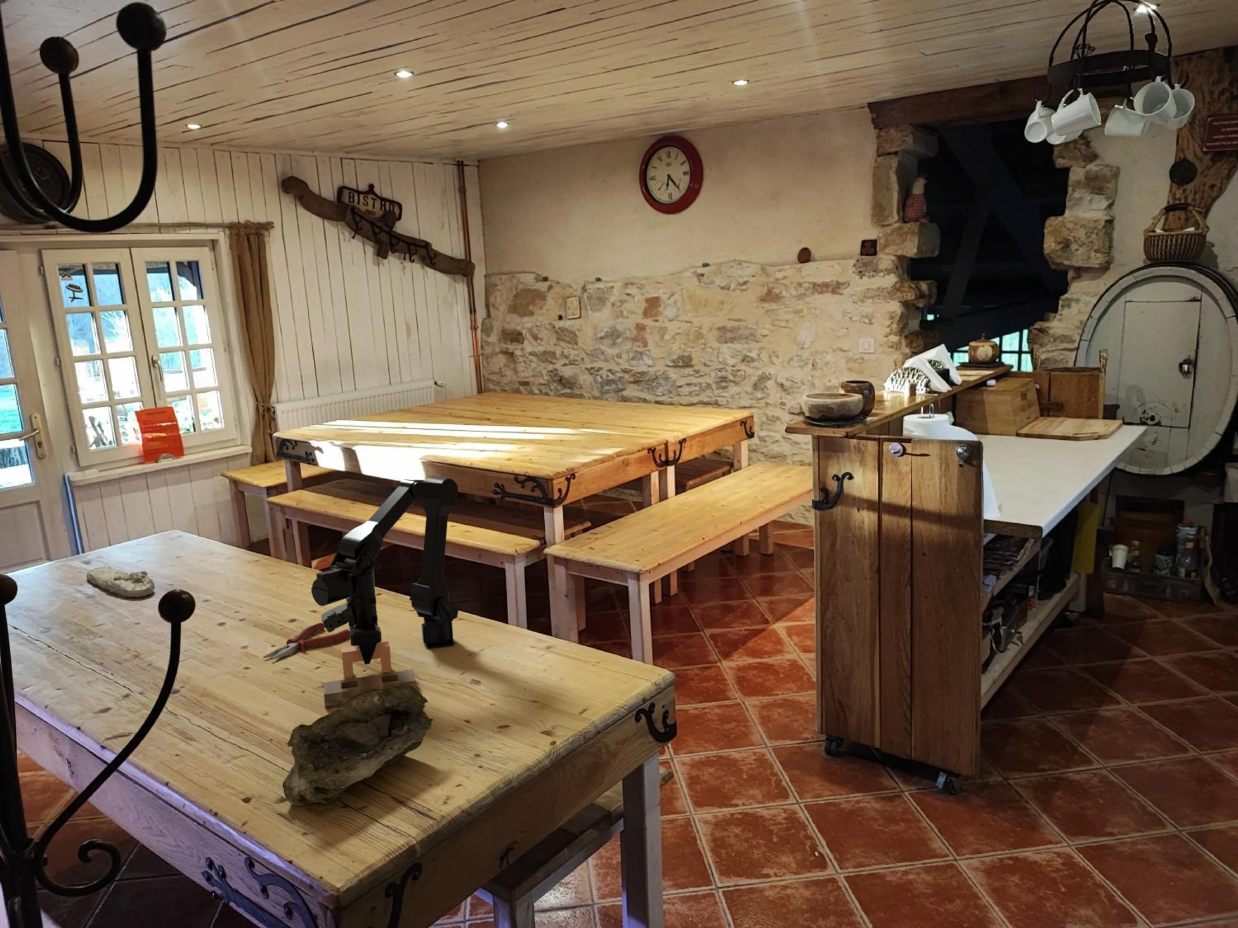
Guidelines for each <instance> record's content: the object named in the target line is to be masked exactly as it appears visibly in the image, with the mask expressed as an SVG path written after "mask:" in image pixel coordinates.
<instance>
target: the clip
mask: <svg viewBox="0 0 1238 928" xmlns="http://www.w3.org/2000/svg"><path fill="white" fill-rule="evenodd" d="M391 657H392V656H391V646H390V641H389V640H388V641H382V642H380V643H377V645H376V648H375V651H374V653H373V656H372V659H371V661H372V660H378V659H379V660H380V665H381V667H380V668H381V672H382V673H381V674H384V673H391V672H392V662H391V661H392V659H391ZM341 660H342V661H341V662H342V670H343V671H342V672H343V678H344V679H350V678H355V677H354V665H353V663H358V662H364V661H363V657H362V654H361V651H360V648H359V646H351V645H350V646H344V647H341Z"/></svg>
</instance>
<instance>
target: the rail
mask: <svg viewBox="0 0 1238 928" xmlns="http://www.w3.org/2000/svg"><path fill="white" fill-rule="evenodd" d="M399 685H405V686H408V685H409V686H412V687H413V688H415V689H416V690H417V691H418V689H417V678H416V676H415V671H414V669H407V670H401V671H393V672H392V671H391V672H385V673H380V674H373V675H366V676H360V677H351V678H344V679H338V680H331V681H324V682H323V698H324V699H323V700H324V709H326V710H327V709H331V708H337V707H341V706H342V705H343V704H344V703H346V702H347V701H348V700H350V699H351V698H353V697H354V696H355V695H357V694H360V693H363V692H365V691H367V690H370V689H388V688H390V687H393V686H399Z"/></svg>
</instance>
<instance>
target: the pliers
mask: <svg viewBox="0 0 1238 928" xmlns="http://www.w3.org/2000/svg"><path fill="white" fill-rule="evenodd" d="M324 630H325V627H324V624H323V622H318V623H314V624H313V625H310V626H307V627H306V628H304V629H303V630H302V631H301V632H300V633H299V634H298V635H297V636H296V637H295V638H288V639H287V640H286V644H284V645H282V646H280V647H278V648H276V649H275V650H273V651H270V652H269V653H267V654H265V655H264V656H262V658H263V659H266V658H271V661H273V660H277V659H280V658H283V657H287V656H290V655H293V654H294V653H296V652H299V651H301V653H305V651H306V650H310V649H316V648H319V647H324V646H329V645H334V644H337V643H341V642H343V641H346V640H347V639H349V638H350V631H351V630H350V629H349V628H344V630H343V629H342V630H340V631H339V632H336V633H333V634H329V635H324V636H318V637H314V638H308V637H311V636H312V635H315V634H316V633H319V632H322V631H324Z"/></svg>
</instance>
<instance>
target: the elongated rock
mask: <svg viewBox="0 0 1238 928" xmlns="http://www.w3.org/2000/svg"><path fill="white" fill-rule="evenodd" d="M86 579H87V580H88V581H89V582H90V583H91V584H94V585H95V586H98V587H100V588H101V590H107V591H109V592H110V593H113V594H115V595H118V596H121V597H123V598H126V597H128V598H141V597H146V596H148V595H151V594H153V591H154V590H155V582H154V581H153V579H152V578H150V577H149V576H148V572H147V571H146V570H145V571H144V570H141V571H136V572H130V573H128V572H126V571H123V570H119V569H116V568H113V567H111V566H100V567H95V568H93V569H89V571H88V572H87V573H86Z"/></svg>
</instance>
